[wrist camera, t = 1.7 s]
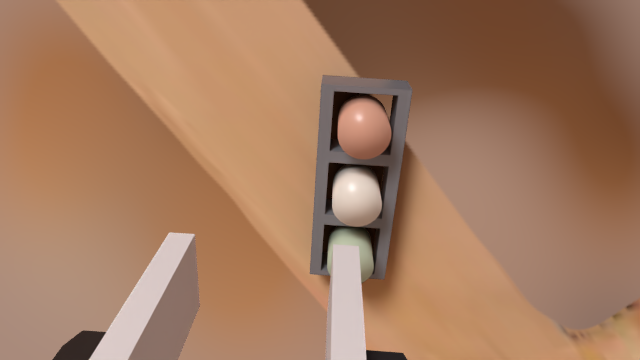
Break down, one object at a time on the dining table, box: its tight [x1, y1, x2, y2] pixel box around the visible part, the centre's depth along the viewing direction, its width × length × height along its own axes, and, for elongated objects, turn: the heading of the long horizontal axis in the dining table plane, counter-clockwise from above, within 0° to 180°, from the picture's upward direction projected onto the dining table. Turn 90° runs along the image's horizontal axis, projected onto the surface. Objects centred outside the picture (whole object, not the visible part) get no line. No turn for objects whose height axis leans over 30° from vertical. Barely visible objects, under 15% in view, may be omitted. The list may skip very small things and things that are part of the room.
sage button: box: [327, 225, 374, 283], centre depth 41 cm, size 4×4×4 cm
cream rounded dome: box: [332, 164, 382, 227], centre depth 39 cm, size 4×4×4 cm
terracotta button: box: [338, 95, 391, 159], centre depth 36 cm, size 4×4×4 cm
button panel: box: [310, 75, 412, 279], centre depth 40 cm, size 18×7×3 cm, turn 176°
